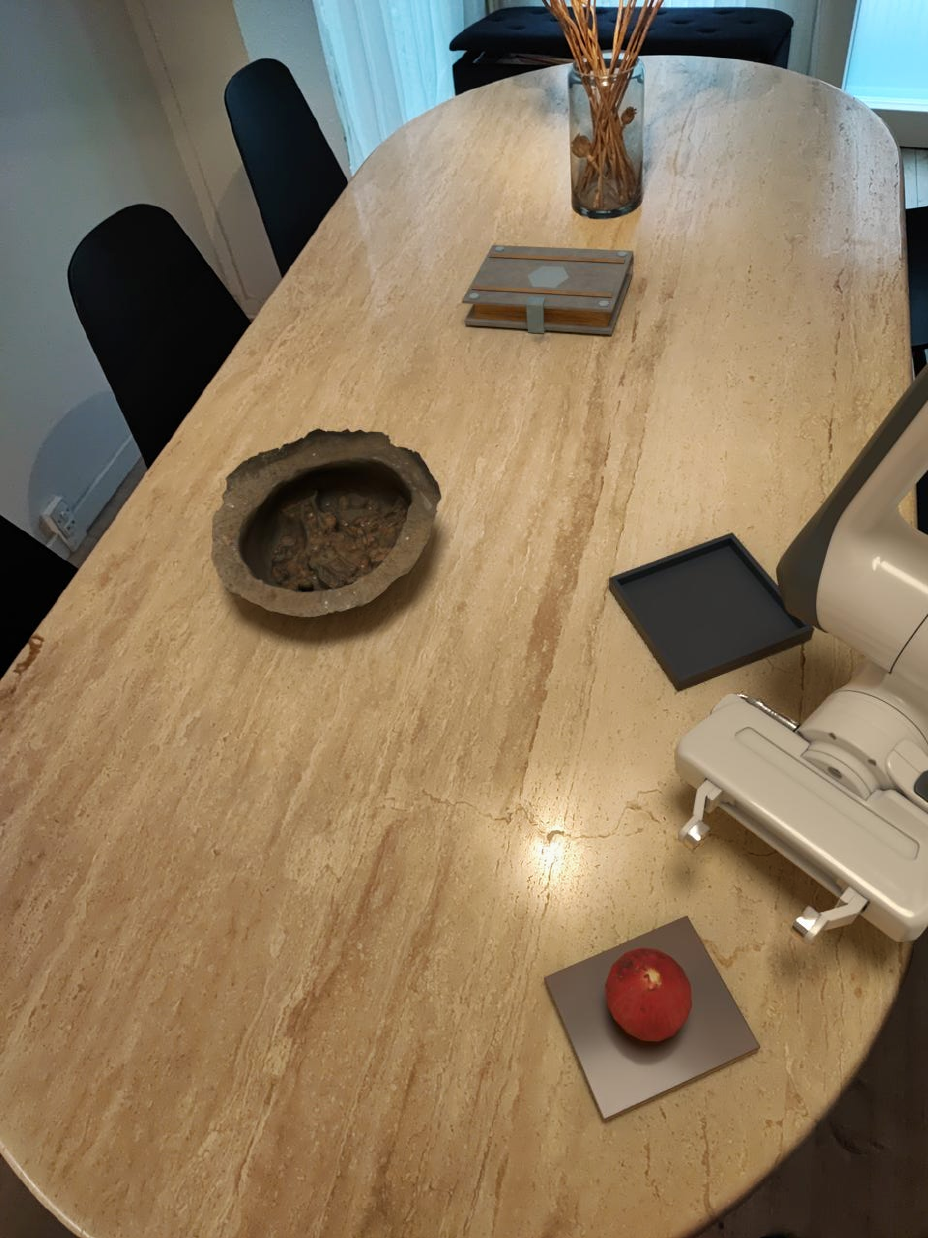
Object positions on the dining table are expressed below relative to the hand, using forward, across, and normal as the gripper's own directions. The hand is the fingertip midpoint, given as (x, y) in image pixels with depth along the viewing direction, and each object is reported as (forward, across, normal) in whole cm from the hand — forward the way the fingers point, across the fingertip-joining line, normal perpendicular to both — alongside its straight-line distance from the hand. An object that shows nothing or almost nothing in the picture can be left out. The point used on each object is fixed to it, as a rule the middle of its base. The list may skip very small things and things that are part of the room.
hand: (740, 887), depth 59 cm
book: (-56, -72, +8) cm, 91 cm away
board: (+9, 0, +8) cm, 12 cm away
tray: (-24, -20, +8) cm, 32 cm away
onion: (+9, 0, +7) cm, 12 cm away
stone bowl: (-3, -54, +8) cm, 55 cm away
